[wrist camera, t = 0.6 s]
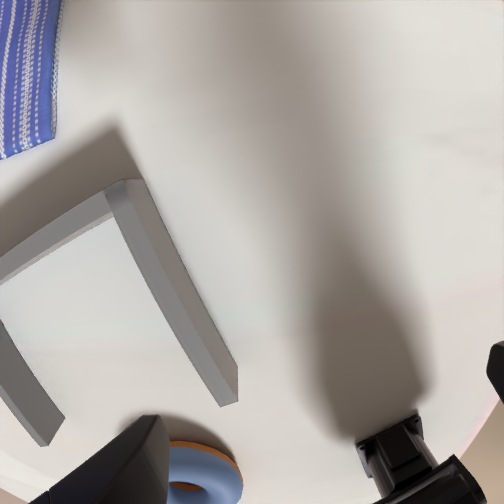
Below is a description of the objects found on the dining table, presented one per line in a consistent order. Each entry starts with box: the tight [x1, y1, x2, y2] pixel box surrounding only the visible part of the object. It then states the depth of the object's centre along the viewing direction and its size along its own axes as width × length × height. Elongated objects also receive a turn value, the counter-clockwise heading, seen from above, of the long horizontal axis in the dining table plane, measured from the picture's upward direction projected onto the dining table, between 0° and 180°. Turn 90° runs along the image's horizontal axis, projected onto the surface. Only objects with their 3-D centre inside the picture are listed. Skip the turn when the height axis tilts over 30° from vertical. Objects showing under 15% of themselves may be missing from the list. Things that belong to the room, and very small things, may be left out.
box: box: [0, 179, 238, 447], centre depth 19 cm, size 14×18×4 cm
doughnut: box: [167, 441, 243, 504], centre depth 23 cm, size 10×10×5 cm
